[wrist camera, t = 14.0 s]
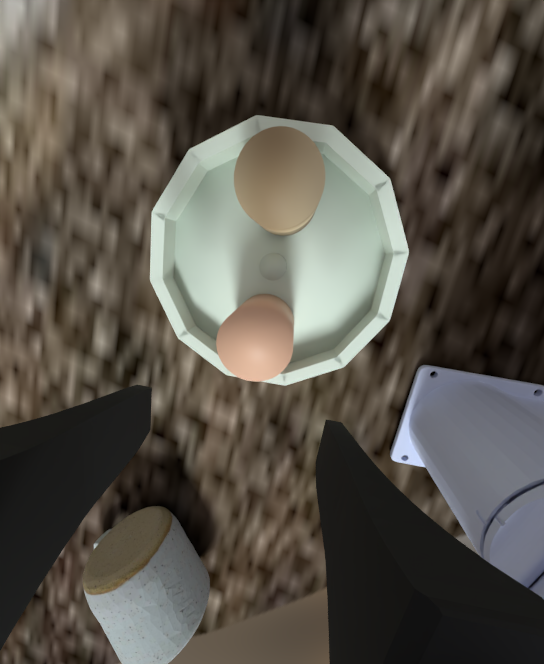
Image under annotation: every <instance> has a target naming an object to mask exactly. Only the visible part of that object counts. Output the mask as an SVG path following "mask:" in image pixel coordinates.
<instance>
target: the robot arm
mask: <svg viewBox="0 0 544 664" xmlns="http://www.w3.org/2000/svg"><path fill="white" fill-rule="evenodd" d="M433 371H435V374H434V375H433V376H430V373H431V372H433ZM536 390H537V392H536V393H534V392H535V391H536ZM151 392H152V388H151V387H146V386H141V385H135V386H132V387H128V388H125V389H123V390H120V391H117V392H114V393H112V394H109V395H106V396H103V397H101V398H98V399H95V400H93V401H90V402H87V403H84V404H81V405H78V406H75V407H72V408H69V409H66V410H63V411H61V412H58V413H55V414H51V415H48V416H45V417H41V418H38V419H34V420H30V421H26V422H23V423H19V424H15V425H11V426H6V427H2V428H0V650H1V648H2V647H3V645H4V643H5V642H6V640H7V638H8V636H9V635H10V633H11V631H12V630H13V628H14V626H15V624H16V623H17V621H18V620H19V618H20V616H21V615H22V613H23V611H24V610H25V608H26V607H27V605H28V603H29V602H30V600H31V598H32V597H33V595H34V594H35V592H36V590H37V589H38V587H39V585H40V584H41V582H42V581H43V579H44V577H45V576H46V574H47V573H48V571H49V570H50V568H51V567H52V565H53V564H54V562H55V561H56V559H57V557H58V556H59V554H60V553H61V551H62V550H63V548H64V547H65V545H66V544H67V542H68V541H69V539H70V538H71V536H72V535H73V533H74V532H75V530H76V529H77V528H78V526H79V525H80V523H81V522H82V520H83V519H84V517H85V516H86V515H87V513H88V512H89V511H90V509H91V508H92V507H93V505H94V504H95V503H96V501H97V500H98V499H99V498H100V497H101V495H102V494H103V493H104V492H105V490H106V489H107V488H108V487H109V486H110V484H111V483H112V482H113V481H114V480H115V478H116V477H117V476H118V475H119V473H120V472H121V471H122V470H123V469H124V467H125V466H126V465H127V464H128V462H129V461H130V460H131V459H132V457H133V456H134V455H135V454H136V452H137V451H138V449H139V448H140V446H141V445H142V443H143V441H144V440H145V438H146V436H147V435H148V433H149V431H150V423H151ZM403 455H406V456H405V457H402V456H403ZM390 456H391V458H392V460H393V461H396V462H400V463H406V464H411V465H416V466H421V467H426V468H427V470H428V472H429V473H430V475H431V477H432V478H433V480H434V482H435V483H436V485H437V487H438V488H439V490H440V491H441V493H442V495H443V496H444V498H445V500H446V501H447V503H448V505H449V506H450V508H451V510H452V511H453V513H454V514H455V516H456V518H457V519H458V521H459V523H460V524H461V526H462V528H463V529H464V531H465V533H466V534H467V536H468V538H469V539H470V541H471V542H472V544H473V546H474V547H475V549H476V551H477V552H478V554H479V555H478V554H476V553H475V552H473V551H472V550H471V549H469V548H468V547H466V546H465V545H464V544H462V543H461V542H460V541H458V540H457V539H456V538H454V537H453V536H452V535H451V534H449V533H448V532H447V531H445V530H444V529H443V528H442V527H440V526H439V525H438V524H437V523H436V522H434V521H433V520H432V519H431V518H430V517H428V516H427V515H426V514H425V513H424V512H422V511H421V510H420V509H419V508H418V507H417V506H416V505H414V504H413V503H412V502H411V501H410V500H409V499H408V498H407V497H406V496H405V495H404V494H403V493H402V492H401V491H400V490H399V489H398V488H397V487H396V486H395V485H394V484H393V483H392V482H391V481H390V480H389V479H388V478H387V477H386V476H385V475H384V474H383V473H382V472H381V471H380V469H379V468H378V467H377V466H376V465H375V464H374V463H373V462H372V460H371V459H370V458H369V457H368V456H367V454H366V453H365V452H364V451H363V450H362V448H361V447H360V446H359V445H358V443H357V442H356V441H355V439H354V438H353V437H352V435H351V434H350V433H349V432H348V430H347V429H346V428H345V426H344V425H343V424H342V423H341V422H336V421H331V420H326V422H325V426H324V430H323V434H322V438H321V443H320V447H319V451H318V455H317V459H316V489H317V497H318V505H319V512H320V519H321V527H322V534H323V542H324V549H325V559H326V574H327V595H328V619H329V620H328V622H329V653H330V664H544V385H540V384H534V383H528V382H522V381H516V380H511V379H505V378H499V377H493V376H488V375H482V374H476V373H470V372H464V371H459V370H453V369H447V368H441V367H436V366H430V365H422V366H420V367H419V368H418V370H417V372H416V375H415V379H414V382H413V385H412V388H411V391H410V394H409V397H408V400H407V403H406V406H405V409H404V412H403V415H402V418H401V421H400V424H399V427H398V430H397V433H396V436H395V439H394V442H393V445H392V448H391V451H390Z"/></svg>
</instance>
